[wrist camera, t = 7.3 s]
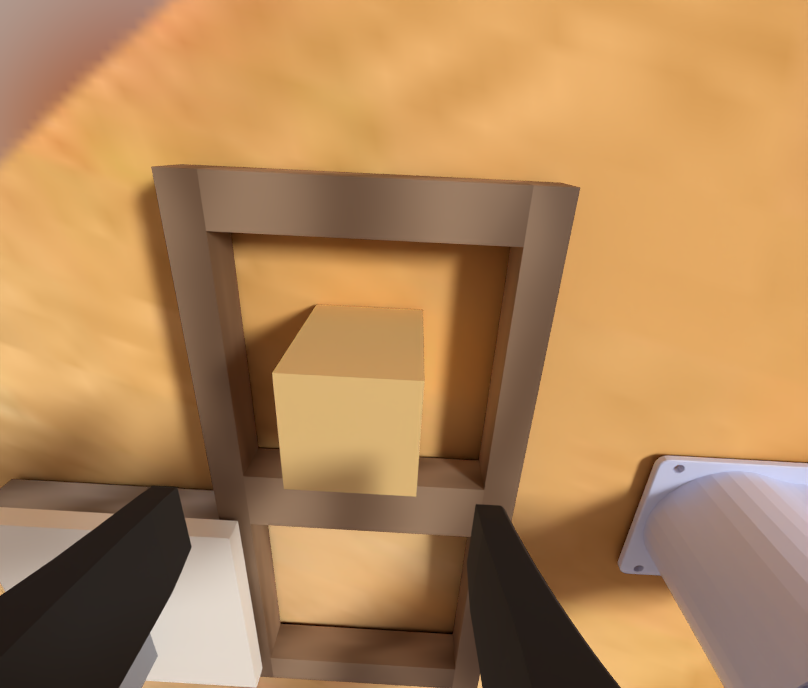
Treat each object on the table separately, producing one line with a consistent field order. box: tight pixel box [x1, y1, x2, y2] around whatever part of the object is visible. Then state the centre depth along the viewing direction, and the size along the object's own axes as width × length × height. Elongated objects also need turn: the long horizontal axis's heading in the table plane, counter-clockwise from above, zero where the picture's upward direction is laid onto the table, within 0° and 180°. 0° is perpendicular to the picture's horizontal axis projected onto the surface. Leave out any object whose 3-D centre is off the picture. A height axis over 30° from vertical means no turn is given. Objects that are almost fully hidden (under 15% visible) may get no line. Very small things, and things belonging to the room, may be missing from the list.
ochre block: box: [272, 304, 425, 497], centre depth 16 cm, size 4×4×6 cm
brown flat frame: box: [0, 164, 580, 688], centre depth 21 cm, size 26×29×2 cm
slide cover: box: [0, 507, 262, 688], centre depth 21 cm, size 12×12×4 cm
